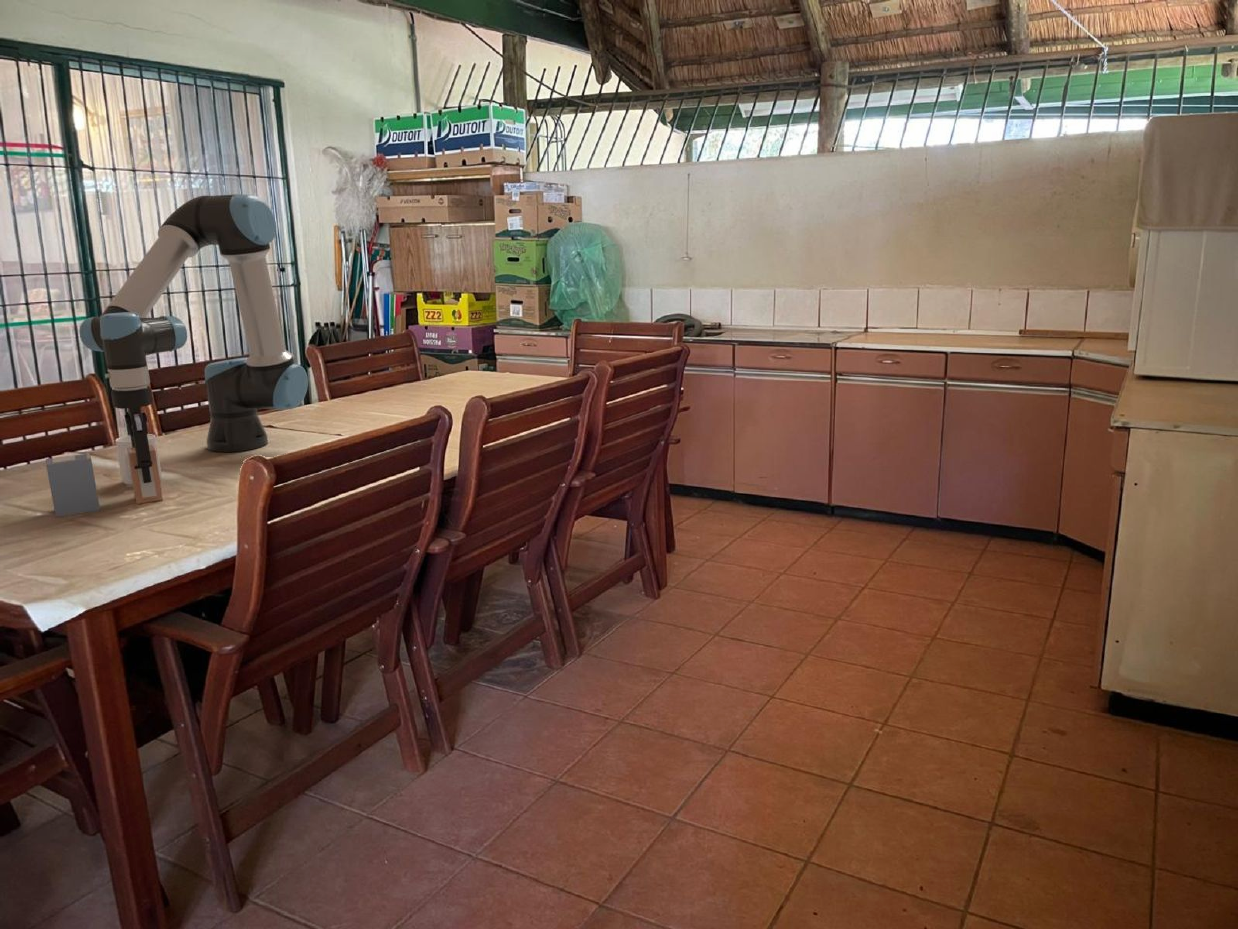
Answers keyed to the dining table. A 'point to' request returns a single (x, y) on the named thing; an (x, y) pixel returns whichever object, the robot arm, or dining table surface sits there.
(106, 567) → the dining table surface
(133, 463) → the stub
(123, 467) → the mug
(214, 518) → the dining table surface
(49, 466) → the toy oven block
